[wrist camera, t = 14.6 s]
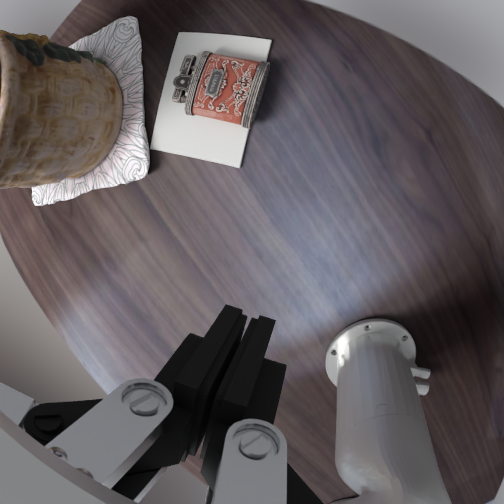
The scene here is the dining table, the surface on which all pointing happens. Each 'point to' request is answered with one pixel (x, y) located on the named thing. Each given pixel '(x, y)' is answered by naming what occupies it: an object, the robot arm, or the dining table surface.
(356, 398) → the robot arm
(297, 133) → the dining table surface
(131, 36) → the cookie jar
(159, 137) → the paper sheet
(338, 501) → the dish
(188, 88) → the lighter
